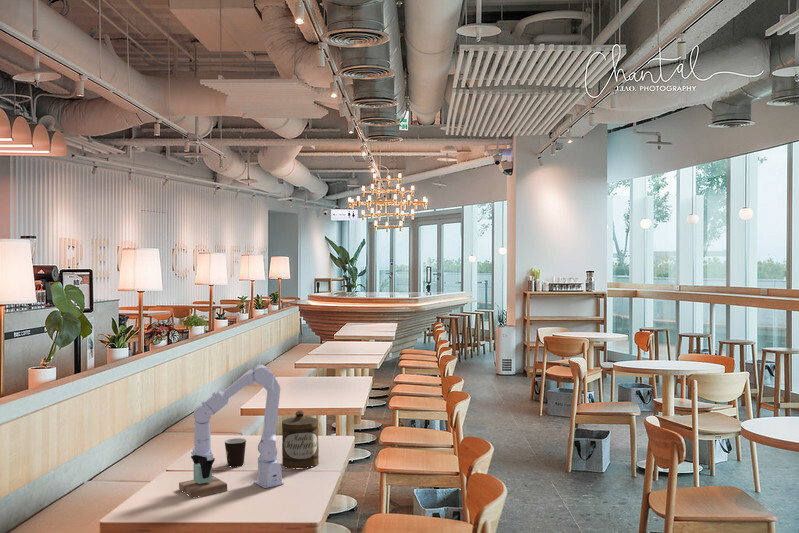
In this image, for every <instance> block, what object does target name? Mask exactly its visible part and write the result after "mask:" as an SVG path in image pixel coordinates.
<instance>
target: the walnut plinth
mask: <svg viewBox="0 0 799 533" xmlns="http://www.w3.org/2000/svg"><path fill="white" fill-rule="evenodd" d="M179 489H180V490H179ZM178 490H179V491H181V492H182V491H183V492H185V493H186V494H188V495H189V496H191V497H192V498H193V497H197V498H199V497H198V496H202V497H205V496H204V495H206V496H209V494H211V495H214V494H213V493H215V494H219V493H218V492H220V493H223V491H224V492H228V483H227V482H225V481H223V480H221V479H219V478H218V477H216V476H214V475H212V481H211V482H206V483H201V484H198V483H196V482H195V481H194V479H192V480H187V481H181V482H178ZM185 493H184V494H185ZM186 494H185V495H186ZM188 495H187V496H188ZM189 496H188V497H189ZM191 497H190V498H191ZM192 498H191V499H192ZM193 499H194V498H193Z"/></svg>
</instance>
